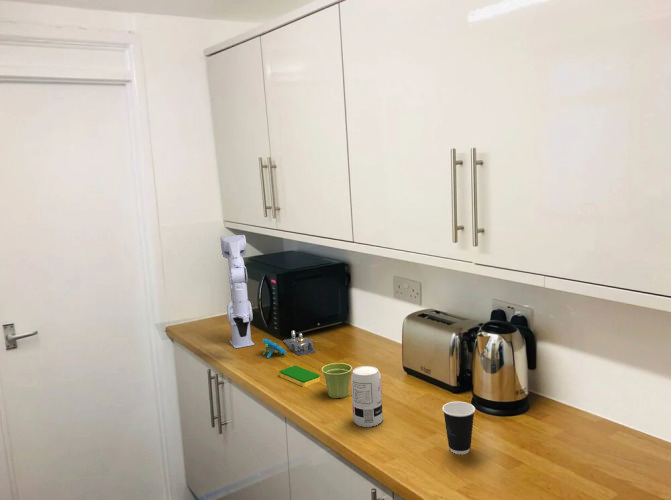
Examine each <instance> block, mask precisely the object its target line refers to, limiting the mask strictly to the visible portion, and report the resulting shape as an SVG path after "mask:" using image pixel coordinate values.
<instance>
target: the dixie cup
mask: <svg viewBox="0 0 671 500" xmlns="http://www.w3.org/2000/svg"><path fill="white" fill-rule="evenodd" d="M475 411H476V407H475V406H474V405H473V404H472V403H470V402H465V401H450V402H447V403H445V404H443V405H442V412H443V417H444V423H445V430H446V437H447V438H446V439H447V443H448V448H449V450H450V452H451V453H452V452H453V453H452V454H454V453H455V455H460V454H461V456H462V455H466V454H468V453H469V452H470V449H471V447H472V438H473V437H472V436H473V428H474V417H475V416H474V415H475Z"/></svg>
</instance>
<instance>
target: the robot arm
mask: <svg viewBox="0 0 671 500" xmlns="http://www.w3.org/2000/svg"><path fill="white" fill-rule="evenodd" d="M246 240H247V239H246V235H245V234H237V235H227V236H226V235H225V236H223V235H221V236H220V247H221V248H220V249H221V250H220V251H221V255H222V257H223V258H225V259H227V263H228V270H227V271H228V273H227V274H228V282H229V287H230V290H231V291H230V293H231V300H230V301H229V302H228V303H227V305H226V313H227V323H229V324H230V331H231V340H229V343H230V344H231V345H232V347H233V348H234V349H240V348H245V347H250V346H254V345H255V343H254V342H253V340H252V336H251V335H252V333H251V332H252V331H251V322H252V321H253V319H254V318H253V315H254V314H253V307H252V303H251V301H250V300H249V297H248V296H249V295H248V285H247V283H248V272H247V271H248V270H247V267H246V266H245V261H244V260H245V259H244V258H243V257H245V256H246V254H247V241H246Z"/></svg>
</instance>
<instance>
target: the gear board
mask: <svg viewBox="0 0 671 500" xmlns="http://www.w3.org/2000/svg"><path fill="white" fill-rule="evenodd" d="M282 342H284V343H285V344H284V343H283V344H284V345H285V346H287V347H288V349H289V350H291V351H292V352H293V353H294V354H295V355H297V356H304V355H310V354H314V353H316V352H317V349H315V348H314V339H312V338H310V339H309V338H308V337H303V333H302V332H299V333H298V337H296V331H295V330H291V338H288V339H283V340H282Z"/></svg>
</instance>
